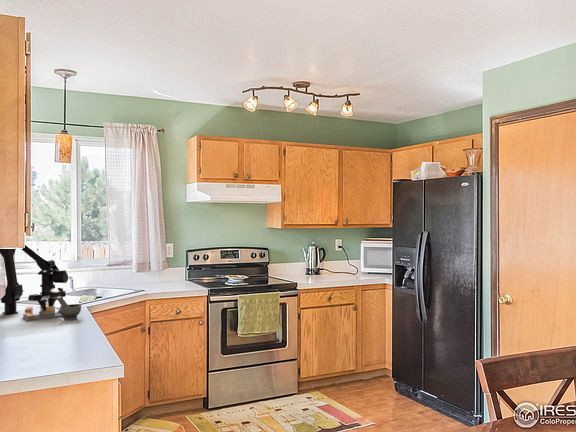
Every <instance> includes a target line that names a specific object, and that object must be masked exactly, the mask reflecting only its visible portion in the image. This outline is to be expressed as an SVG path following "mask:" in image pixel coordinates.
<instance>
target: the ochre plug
mask: <svg viewBox="0 0 576 432" xmlns="http://www.w3.org/2000/svg"><path fill="white" fill-rule="evenodd" d="M39 306H40V305H39ZM48 310H50V311H52V312H54V313H56V306H54V305H53V306H49V305H46V311H48ZM39 311H43V310H42V308H41V306H40V310H39Z"/></svg>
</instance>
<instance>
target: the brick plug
mask: <svg viewBox="0 0 576 432" xmlns="http://www.w3.org/2000/svg"><path fill="white" fill-rule="evenodd" d="M24 313H32V314H33V313H34V307H33V306H27V307H26V308H25V309H24ZM33 315H34V314H33Z"/></svg>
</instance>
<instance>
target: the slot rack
mask: <svg viewBox="0 0 576 432" xmlns="http://www.w3.org/2000/svg"><path fill="white" fill-rule="evenodd" d="M22 316H23V317H22V318H23V319H24V320H25V321H27V322H31V321H41V319H43V320H50V318H51V319H59V317H60V318H64V316H63V315H62V314H61V311H60V308H59V309H58V311H57V312H55V313H54V312H52V311H50V310H48V311H40V310H39V313H38V314H32V313H25V312H23V314H22Z"/></svg>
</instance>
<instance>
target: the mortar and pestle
mask: <svg viewBox="0 0 576 432" xmlns="http://www.w3.org/2000/svg"><path fill="white" fill-rule="evenodd" d="M57 298H58V299H57V300H56V301H58V302H59V304H60V307H59V309H60V311H61V314H62V315H63V316H64V317H63V321H65V320H66V322H67V321H68V322H69V321H70V320H71V321H76V320H78V315H80V313H81V311H82V305H81V304H77V303H76V304H75V303H73V304H68V303H67V302H66V301H65V299H64V297H62V296H61V297H57Z"/></svg>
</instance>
